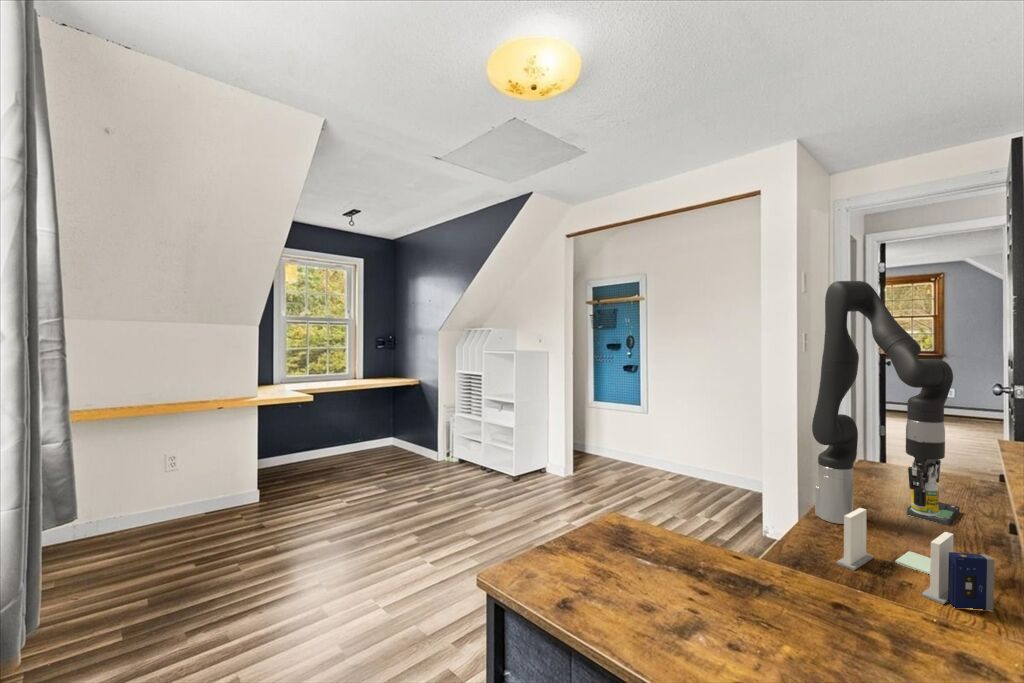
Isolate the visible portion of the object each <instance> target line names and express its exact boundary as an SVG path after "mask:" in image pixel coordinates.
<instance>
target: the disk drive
mask: <svg viewBox="0 0 1024 683" xmlns="http://www.w3.org/2000/svg"><path fill="white" fill-rule="evenodd" d="M959 514H960V506H958V505H954V504H949V503H945V502H941V501H939V513H938V515H936V516H927V515H922V514H918V513H916V512H914V511H913V510H912V509H911V505H910V506H908V508H907V509H906V515H911V516H914V517H913V518H915V517H918V518H917V519H919V518H921V519H920V520H923V519H925V520H924V521H927V520H929V521H928V522H931V521H933V522H932V523H935V522H937V523H936V524H939V523H940V525H944V526H947V527H949V526H951V525H952V524H953V522H954V521H955V519H956V518H957V517H958V516H959ZM911 516H910V517H911Z"/></svg>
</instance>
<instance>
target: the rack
mask: <svg viewBox="0 0 1024 683" xmlns="http://www.w3.org/2000/svg"><path fill="white" fill-rule="evenodd" d="M954 536H955V535H954V533H951V532H947V531H944V532H943V533H941V534H940V535H938V536H937V537H936V538H934V539H933V540H931V541H930V558H931V564H930V575H929V576H930V577H929V578H930V579H929V580H930V582H929V584H930V585H929V587H928V588H927V589H926V590H924V591H923V592H921V595H922V596H924V597H926V598H925V599H927V598H929V599H928V600H930V599H931V600H930V601H932V600H934V601H933V602H935V601H936V602H935V603H937V602H939V603H938V604H940V603H941V604H940V605H943V604H945V603H946V604H948V567H949V552H954ZM872 559H874V555H872V554H869V553H867V509H866V508H862V507H858V508H856V509H855V510H853V512H851V513H849V514H847V515H845V516H844V524H843V557H841V558H840V559H838V560H837V561H836V564H837V565H839V566H841V567H843V568H847V569H849V570H852V571H856V570H857V569H859V568H860V567H862V566H863V565H865V564H866V563H868V562H869V561H871V560H872ZM922 596H921V597H922ZM924 597H923V598H924ZM946 604H945V605H946Z"/></svg>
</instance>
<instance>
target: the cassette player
mask: <svg viewBox="0 0 1024 683" xmlns="http://www.w3.org/2000/svg"><path fill="white" fill-rule="evenodd" d="M995 561H996V560H995V559H994V558H993V557H992V556H988V555H987V554H983V553H970V552H968V553H967V552H954V551H953V552H949V567H948V602H947V604H949V605H950V604H951V605H952V606H953V607H955V608H973V609H983V610H991V611H993V612H994V604H995V602H994V601H995V600H994V598H995V597H994V596H995V595H994V594H995V593H994V592H995V564H996V563H995ZM951 605H950V606H951ZM952 606H951V607H952ZM953 607H952V608H953ZM955 608H954V609H955Z"/></svg>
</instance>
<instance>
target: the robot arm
mask: <svg viewBox="0 0 1024 683" xmlns="http://www.w3.org/2000/svg"><path fill="white" fill-rule="evenodd" d="M849 312H859V313H860V314H861V315H863V316H864V317H865V318H867V319H868V321H869V322H870V324H871V331H872V332H871V333H872V334H871V335H872V337H873V340H874V342H875V343H876V344H877V346H878V347H879V348H880V349H881V350H882V351H883V353H885V355H887V356H888V358H889V359H890V361H891V364H892V365H893V367H894V370H895V372H896V375H897V376H898V378H899V379H900V380H901V381H902V383H904V384H905V385H907V386H908V387H911V388H916V389H917V388H920V389H921V390H920V392H919V393H918V394H917V395H913V396H911V397H909V398H908V400H907V405H906V407H907V410H906V411H907V412H906V414H907V415H906V416H907V419H906V424H905V453H906V454H907V455H909V456H910V457H913V458H914V459H913V462H912V464H911V466H908V468H907V471H908V486H909V490H911V489H913V490H914V504H915V505H918V506H922V507H924V506H926V488H927V484H929V483H930V480H931V475H933V476H935V483H934V484H936V485H937V484H938V483H939V482H940V475H941V474H940V473H941V463H942V461H941V460H943V459H945V457H946V428H945V403H946V401H947V399H948V397H949V393H950V390H951V388H952V385H953V381H954V372H953V370H952V367H951V365H950V364H949V363H948V362H947V361H945V360H942V359H939V358H936V359H935V358H934V359H933V358H931V359H929V358H928V359H919V358H918V356H919V355H920V354H921V352H922V347H921V345H920V344H919V343H918V342H917V341H916V340H915V339H914V337H913V336H911V335H910V334H909V333H908V332H907V331H906V329H905V328H903V326H901V325H900V324H899V322H897V320H896V319H895V318H894V316H893V315H892V313H891V312H890V310H889V309H888V308H887V306H886V305H885V304H884V301H883V300H882V299H881V297H880V296H879V295H878V293H877V291H876V290H875V288H873V286H871V284H870V283H868V282H866V281H861V280H838V281H833V282H831V284H830V285H829V286H828V287H827V290H826V292H825V298H824V323H825V324H824V325H825V326H824V327H825V328H824V340H823V342H824V343H823V350H822V351H823V352H822V358H821V366H820V368H821V369H820V379H819V380H820V382H819V386H818V387H819V388H818V393H817V394H818V396H817V401H816V405H815V409H814V412H813V413H814V414H813V417H812V425H811V431H812V435H813V438H814V439H815V441H816V442H817V444H820V445H821V446H827V448H826V449H825V450H823V451H822V452H820V453H819V454H818V456H817V485H816V486H815V487H814V503H815V504H814V515H816V517H818V518H819V519H822V520H823V521H826V522H828V523H832V524H833V523H834V524H839V525H844V516H845V515H847V514H849V513H851V512H853V511H854V463H855V461H856V459H857V454H858V440H859V432H858V427H857V424H856V422H855V420H854V419H853V418H852V417H851V416H849V415H846V414H840V413H839V412H840V407H841V404H842V401H843V399H844V398H845V396H846V395H847V393H848V392H849V391H850V389H851V387H852V386H853V384H854V382H855V381H856V379H857V375H858V372H859V361H860V355H859V352H858V348H857V347H856V344H855V342H854V341H853V339H852V337H851V336H850V333H849V330H848V313H849ZM923 478H926V479H923ZM917 482H918V483H919V486H917ZM937 486H938V485H937Z"/></svg>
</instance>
